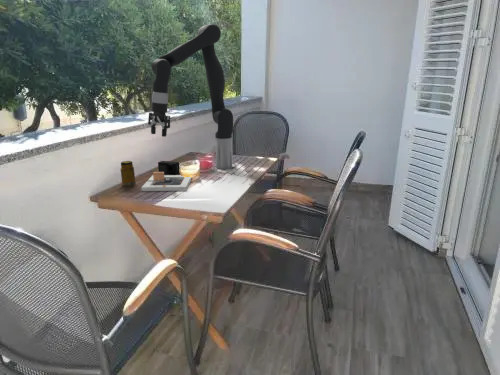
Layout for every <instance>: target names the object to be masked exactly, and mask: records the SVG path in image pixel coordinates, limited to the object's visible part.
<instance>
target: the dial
mask: <svg viewBox="0 0 500 375" xmlns="http://www.w3.org/2000/svg"><path fill="white" fill-rule="evenodd" d="M152 175H153V180H154V181H156V183H155V184H156V185H181V180H179V179H176V178H164V175H165V174H164V172H159V171H153V172H152Z"/></svg>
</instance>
